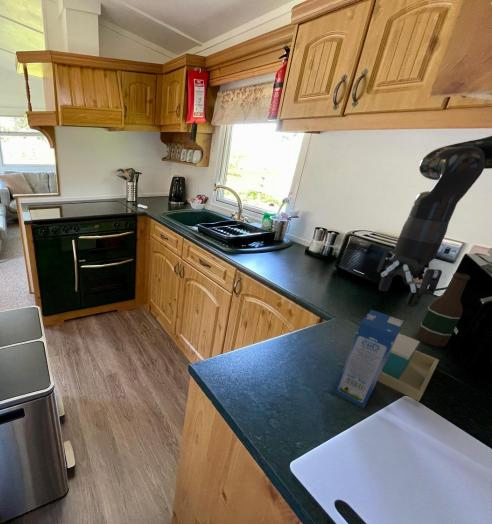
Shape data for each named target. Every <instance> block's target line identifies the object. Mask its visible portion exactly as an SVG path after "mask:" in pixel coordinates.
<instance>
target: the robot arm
mask: <svg viewBox="0 0 492 524" xmlns="http://www.w3.org/2000/svg"><path fill="white" fill-rule="evenodd" d="M418 169H419V173H420V174H421V175H422V176H423V177H424V178H425V179H429V180H430V181H431V180H432V181H437V182H436V183H435V185H434V186H433V187H432V188H431V189H430V190H428V191H427V190H426V191H422V192H420V193H418V194H417V196H416V197H415V199H414V201H413V205H412V207H411V209H410V211H409V213H408V216H407V218H406V220H405V221H404V223H403V225H402V228H401V231H400V233H399V236H398V238H397V241H396V244H395V246H394V249H393V251H384V252H383V254H382V256H381V259H380V261H379V263H378V266H377V268H376V272H377V273H379V274H380V277H381V278H380V282H379V284H378V290H379V291H380V292H388V291H389V290H390V287H391V285H392V283H393V280H394V277H395V276H401V277H402V278H404V279H406V282H407V283H408V284H409V287H410V291H409V292H408V295H407V297H406V300H405V301H404V305H405V306H407V307H408V308H409V307H410V308H415V307H417V306H418V305H419V303H420V302H421V300H422V297H423V295H434V294H435V292H436V290H437V287H438V284H439V282H440V279H441V277H442V274H443V270H442V269H436V268H431V267H430V263H431V262H432V261H433V260H435V259H436V257H437V254H438V252H439V250H440V248H441V245H442V243H443V241H444V238H445V236H446V234H447V232H448V228H449V224H450V222H451V219H452V217H453V214H454V213H455V210H456V207H457V205H458V203H459V202H460V201H461V199H463V198H464V197H465V195H466V194H467V193H468V191H470V189H471V188H472V187H473V185H474V184H475V183H476V181H478V179H479V178H480V176H481V175H482V173H483V172H484V170H487V169H488V170H490V169H492V135H490V136H486V137H482V138H477V139H472V140H467V141H461V142H458V143H453V144H449V145H445V146H440V147H438V148H436V149H434V150H432V151H430V152H429V153H427V154H426V155H425V156H424V157H423V158H422V159H421V161H420V163H419V165H418ZM417 278H418V279H417Z"/></svg>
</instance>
